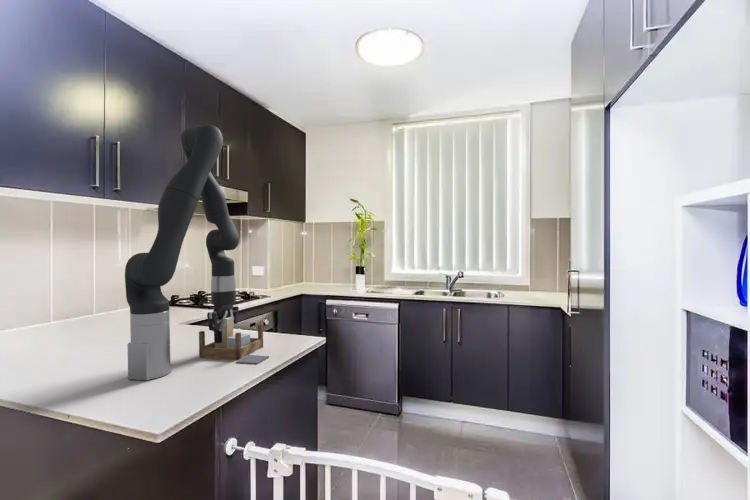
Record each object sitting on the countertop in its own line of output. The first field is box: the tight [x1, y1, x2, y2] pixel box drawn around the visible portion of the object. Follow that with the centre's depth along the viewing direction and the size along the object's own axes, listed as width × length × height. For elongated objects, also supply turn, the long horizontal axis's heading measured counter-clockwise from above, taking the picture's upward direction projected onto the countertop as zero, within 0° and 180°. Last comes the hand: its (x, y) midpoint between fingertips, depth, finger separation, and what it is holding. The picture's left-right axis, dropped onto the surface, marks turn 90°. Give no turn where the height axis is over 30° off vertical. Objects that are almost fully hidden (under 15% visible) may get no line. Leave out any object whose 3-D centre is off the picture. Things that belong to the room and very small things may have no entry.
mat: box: [235, 354, 270, 365], centre depth 115 cm, size 7×7×1 cm
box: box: [215, 317, 234, 348], centre depth 125 cm, size 5×4×11 cm
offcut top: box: [228, 333, 251, 348], centre depth 122 cm, size 6×4×3 cm, turn 162°
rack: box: [198, 323, 264, 361], centre depth 124 cm, size 14×14×8 cm
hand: (224, 340), depth 125 cm, fingers closed on box, 5 cm apart
